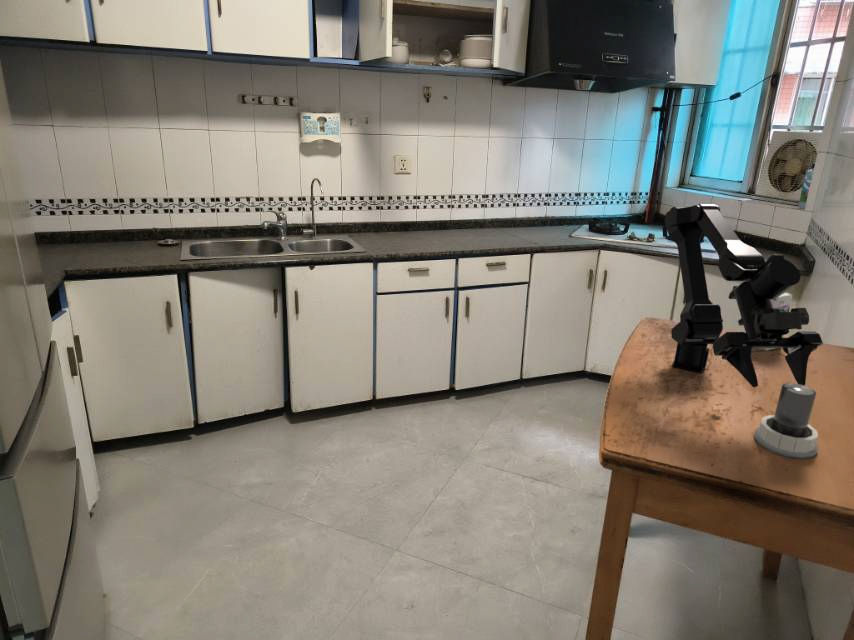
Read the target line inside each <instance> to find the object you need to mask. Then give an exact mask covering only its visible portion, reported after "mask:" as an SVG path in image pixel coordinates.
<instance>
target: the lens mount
mask: <svg viewBox="0 0 854 640" xmlns="http://www.w3.org/2000/svg"><path fill="white" fill-rule="evenodd" d="M774 416H775V414H772V415H771V414H770V415H769V414H768V415H766V416H763V417H761V419H760V424H759V426H758V427H757V428H756V429H755V431H754V435H753V437H754V438H753V439H754V441H756V443H757V444H759V445H760V446H761V447H762V448H763V449H766V450H768V451H769V452H772V453H774V454H777V455H781V456H784V457H788V458H793V459H811V458H814V457H815V456H816V455H817V453H818V450H819V445H818V444H817V441H818V437H819V435H818V430H817V429H815V428H814V427H813V426H812V425H810V424H809V423H808V425H807V429H806V432H805V436H804V438H795V437H791V436H787V435H783V434H781V433H778V432H776V431H774V430H772V429H771V427H772V424H773V420H774Z"/></svg>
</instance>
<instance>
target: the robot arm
mask: <svg viewBox="0 0 854 640" xmlns="http://www.w3.org/2000/svg"><path fill="white" fill-rule="evenodd" d="M664 224H665V227H666V230H667V235H668V236H669V237H670V240H672V241H673V243H675V244H676V245H677V252H678V259H679V260H678V261H679V265H680V273H681V279H682V286H683V293H684V300H685V304H684V306H683V308H682V310H681V313H680V315H679V318H680V319H679V320H680V321H679V322H678V323H677V324H675V326H673V327H672V328H671V330H670V331H671V335H670V336H671V339H672V340H674V341H675V342H676V343H677V344H676V348H675V349H676V350H675V355H674V360H673V362H672V366H671V367H673V368H678V369H683V370H687V371H692V372H697V373H703V370H704V369H706V367H707V364H708V360H709V355H710V350H711V349H710V348H709V347H708V346H709V345H712V349H713V350H712V351H713V355H715V356H717V357H721V359H722V360H725V361H726V362H728V363H729V364H731V366H732V367H733V368H735V370H737V372H739V374H740V375H741V376H742V377H743V378H744V379H745V380H746V381H747V382H748V384H749V385H751V387H752V388H757V387H759V382H758V378H757V373H756V370H755V369H756V368H755V367H754V366H755V365H754V363H753V360H752V351H753V349H760V348H775V349H782V350H783V352H784V353H785V354H786V355H784V359H785V361H786V363H787V365H788V368H789V369H790V371H791V373H792V375H793V378H794V380H795V381H796V384H800V385H804V386H806V381H807V370H808V369H807V368H808V362H809V357H810V355H811V354H812V352H814V351H817V349H818V347H820V346H822V345H824V343H823V340H822V336H821V335H820V333H818V332H816V331H814V330H813V331H810V330H809V331H801V330H802V329H803V327H802V326H806V325H808V324H809V323H810V314H809V312H808V311H807V308H806V307H796V308H795V307H793V308H790V310H789V312H780V310H779V309H778V308H773V306H772V303H771V300H770V299H776V298H777V297H779V296H780V295H782V294H783V293H785V292H787V291H788V290H790V289H792V288H793V287H794V286H796V285H797V284H798V283H799V282H800V280H801V272H800V270H799V268H797V266H796V265H795V264H793V262H791V261H789V260H787V259H785V257H784V254H772V255H771V256H769V257H768V259H767V260H766V259H765V257H764V256H763V255H762V254H761V253H760V252H759V251H758V250H757V249H756V248H755V247H752V246H751V245H748V244H747V243H744V242H743V241H741V238H739V236H738V235H737V234H736V232H735V231H734V230H733V227H731V226H730V224H729V223H728V221H727V220H726V218H724V216H723V214H722V213H721V208H720V206H719V205H717V204H714V203H698V204H695V205H692V206H672V207H671V208H670V209H669V211H667V212H666V214H665V216H664ZM703 234H704V235H705V236H706V238H707V240H708V241H709V243H710V244H711V246H712V247H713V248H714V251H715V252H716V254H717V256H718V260H717V263H716V264H717V267H718V269H719V271H720V273H721V276H722V278H723V279H724V280H725V281H727V282H742V283H740V284H739V285H733V287H732V289H731V291H730V292H729V294H728V299H729V300H735V301H736V303H737V307H738V311H739V314H740V317H741V318H739V319H738V320H737V323H738V326H739V327H740V326H743V329H744V331H726V332H724V334H722V333H723V330H724V326H723V322H724V320H723V317H722V308H721V306H720V304H714V303H713V302H712V300H710V297H709V291H708V285H707V278H706V271H705V265H704V259H703V253H702V246H701V239H702V236H703ZM790 330H800V331H796V332H795V333H793V334H792V335H790V336H789V337H783V338H782V335H787V334H789V333H790ZM721 334H722V335H721Z"/></svg>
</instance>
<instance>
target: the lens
mask: <svg viewBox="0 0 854 640" xmlns="http://www.w3.org/2000/svg"><path fill="white" fill-rule="evenodd" d="M816 396H817V391H815V390H814V389H813V388H811V387H810V386H807V385H800V384H798V383H794V382H793V383H792V382H786V383H783V384H782V386H781V389H780V393H779V397H778V400H777V404H776V407H775V408H776V409H775V413H774V415H775V416H774V420H773V424H772V427H771V429H772V430H774V431H776V432H778V433H781V434H783V435H787V436H791V437H795V438H804V436H805V432H806V429H807V425H808V424H809V422H810V421H809V420H810V417H811V415H812V409H813V407H814V403H815V399H816Z"/></svg>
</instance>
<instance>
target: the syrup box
mask: <svg viewBox="0 0 854 640" xmlns="http://www.w3.org/2000/svg"><path fill="white" fill-rule="evenodd" d="M770 300H771V303H772V306H773V308H778V309H779V310H780V312H790V310H791V304H792V300H793V294H792V293H789V292H787V291H786V292H785V293H783V294H782V295H780V296H779V297H777V298H776V299H770ZM782 338H784V335H782ZM759 349H761V350H763V351H766V352H768V351H770V350H775V349H776V348H759Z"/></svg>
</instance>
